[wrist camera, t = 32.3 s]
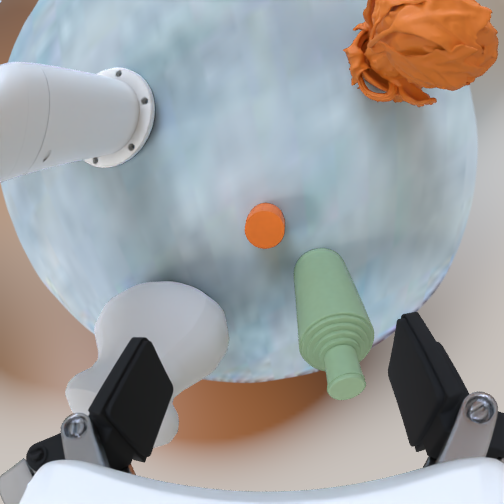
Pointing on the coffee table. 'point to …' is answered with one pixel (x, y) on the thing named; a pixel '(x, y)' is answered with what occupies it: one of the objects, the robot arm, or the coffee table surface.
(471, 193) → the coffee table surface
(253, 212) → the cap
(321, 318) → the bottle
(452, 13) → the orange sculpture
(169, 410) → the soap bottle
